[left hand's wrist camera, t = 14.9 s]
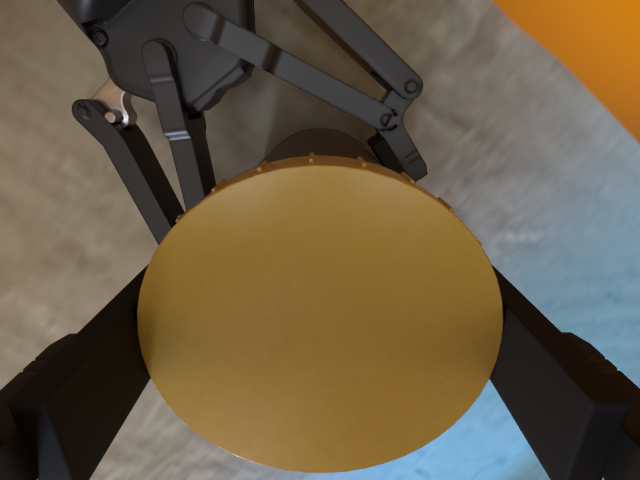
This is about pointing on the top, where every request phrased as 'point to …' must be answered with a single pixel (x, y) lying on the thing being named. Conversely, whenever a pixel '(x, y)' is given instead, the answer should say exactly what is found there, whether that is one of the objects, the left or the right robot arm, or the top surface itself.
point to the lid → (320, 315)
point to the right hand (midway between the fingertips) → (359, 274)
